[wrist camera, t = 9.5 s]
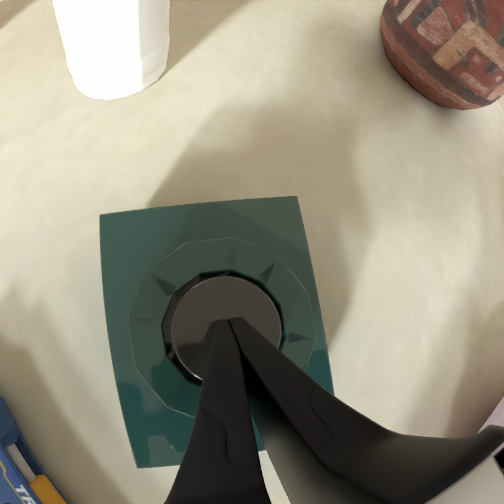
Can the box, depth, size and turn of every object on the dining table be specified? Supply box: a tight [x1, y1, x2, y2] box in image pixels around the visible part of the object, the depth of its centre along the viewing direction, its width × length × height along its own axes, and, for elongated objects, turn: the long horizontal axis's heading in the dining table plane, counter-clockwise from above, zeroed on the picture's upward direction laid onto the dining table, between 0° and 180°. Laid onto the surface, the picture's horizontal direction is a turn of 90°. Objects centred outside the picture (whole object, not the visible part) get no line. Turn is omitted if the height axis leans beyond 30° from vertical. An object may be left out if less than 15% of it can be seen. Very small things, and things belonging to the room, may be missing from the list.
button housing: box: [99, 196, 334, 468], centre depth 14 cm, size 11×9×7 cm
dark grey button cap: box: [171, 276, 281, 380], centre depth 11 cm, size 4×4×2 cm
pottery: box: [380, 0, 504, 110], centre depth 20 cm, size 18×18×18 cm
